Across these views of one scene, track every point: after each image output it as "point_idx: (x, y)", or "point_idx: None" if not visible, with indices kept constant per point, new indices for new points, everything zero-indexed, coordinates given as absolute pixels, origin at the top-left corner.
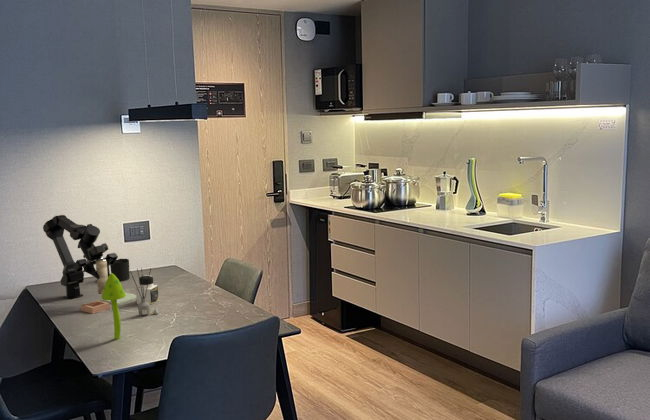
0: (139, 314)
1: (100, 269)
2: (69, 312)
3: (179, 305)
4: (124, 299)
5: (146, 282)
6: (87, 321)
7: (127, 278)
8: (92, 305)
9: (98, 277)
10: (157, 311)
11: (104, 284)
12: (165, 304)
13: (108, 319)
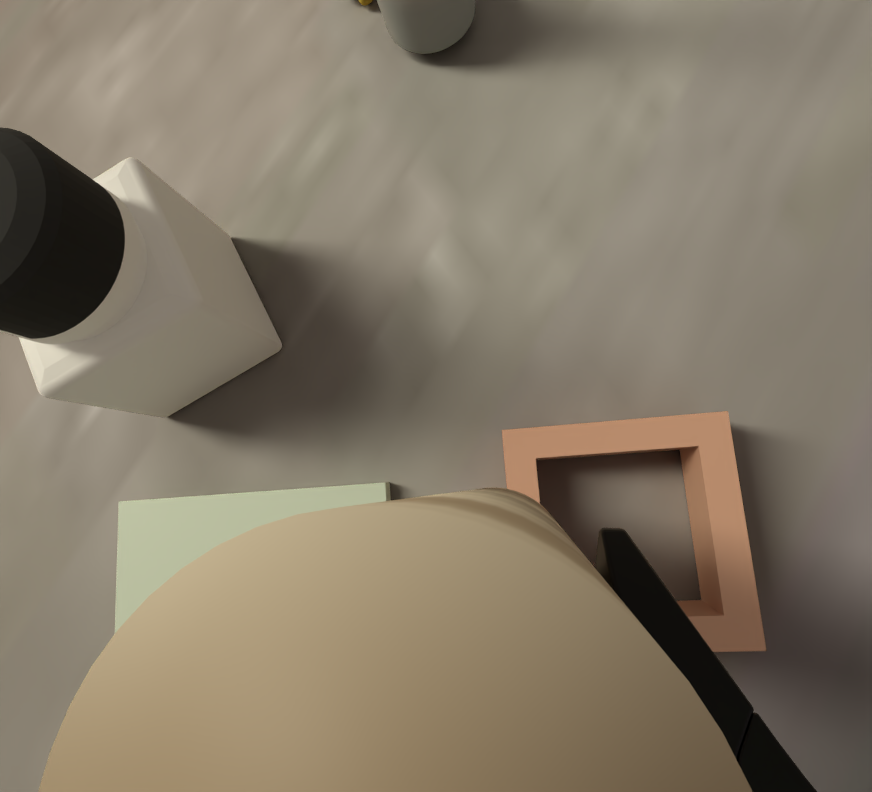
0: (474, 10)
1: (578, 551)
2: (868, 694)
3: (134, 56)
4: None
5: (68, 163)
6: (866, 229)
7: None
8: None
9: (629, 536)
10: None
11: (507, 492)
12: (166, 158)
13: (693, 139)
